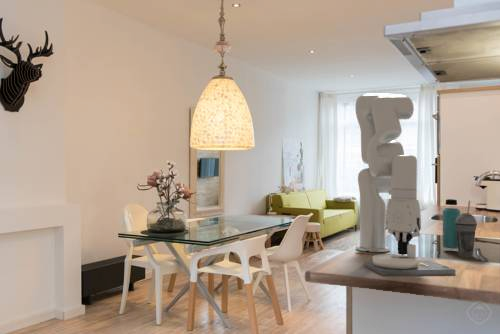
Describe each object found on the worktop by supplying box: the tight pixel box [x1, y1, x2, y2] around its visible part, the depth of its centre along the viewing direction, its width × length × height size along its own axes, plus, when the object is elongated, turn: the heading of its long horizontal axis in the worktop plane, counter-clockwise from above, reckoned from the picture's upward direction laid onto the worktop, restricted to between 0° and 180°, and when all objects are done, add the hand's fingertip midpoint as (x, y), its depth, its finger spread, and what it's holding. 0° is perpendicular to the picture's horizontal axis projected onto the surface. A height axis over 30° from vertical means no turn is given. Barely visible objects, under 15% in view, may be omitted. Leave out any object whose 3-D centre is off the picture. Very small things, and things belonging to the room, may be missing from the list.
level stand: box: [363, 259, 456, 277], centre depth 139 cm, size 15×22×2 cm
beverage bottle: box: [441, 198, 461, 250], centre depth 177 cm, size 6×7×20 cm
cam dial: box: [372, 243, 419, 269], centre depth 139 cm, size 13×13×6 cm
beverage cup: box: [455, 200, 478, 258], centre depth 166 cm, size 7×7×20 cm
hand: (403, 253), depth 142 cm, fingers closed
